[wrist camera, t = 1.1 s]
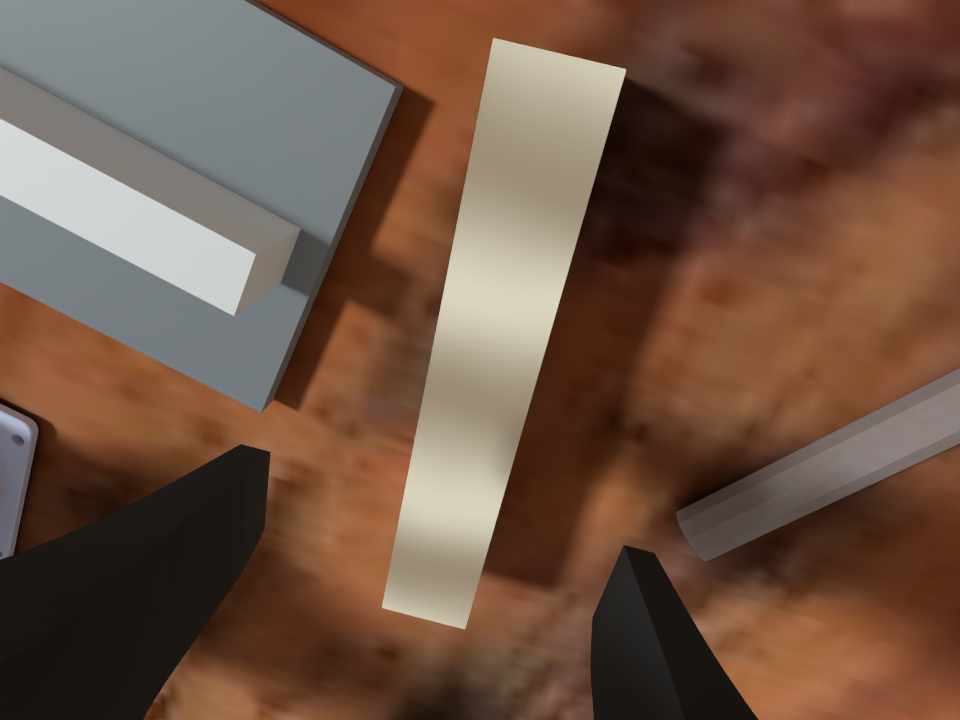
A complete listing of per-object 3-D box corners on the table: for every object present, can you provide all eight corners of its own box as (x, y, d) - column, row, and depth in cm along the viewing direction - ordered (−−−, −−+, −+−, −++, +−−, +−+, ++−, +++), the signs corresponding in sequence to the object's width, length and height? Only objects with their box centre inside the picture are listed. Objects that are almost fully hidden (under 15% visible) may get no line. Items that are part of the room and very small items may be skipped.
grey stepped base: (273, 399, 23) (217, 460, 19) (-91, 215, 21) (-225, 243, 18) (404, 86, 17) (362, 88, 14) (-65, -182, 16) (-246, -258, 12)
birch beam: (479, 549, 25) (465, 629, 21) (408, 531, 25) (381, 608, 21) (613, 71, 17) (626, 69, 13) (508, 46, 17) (493, 37, 13)
